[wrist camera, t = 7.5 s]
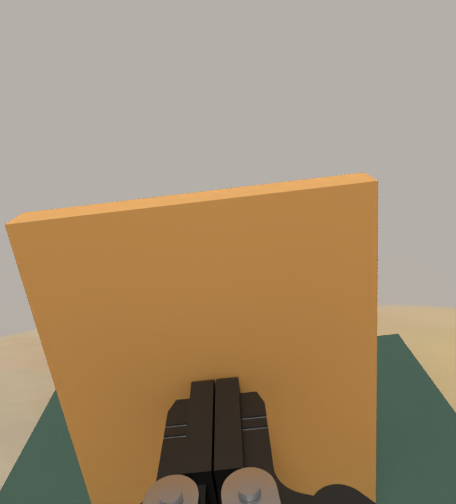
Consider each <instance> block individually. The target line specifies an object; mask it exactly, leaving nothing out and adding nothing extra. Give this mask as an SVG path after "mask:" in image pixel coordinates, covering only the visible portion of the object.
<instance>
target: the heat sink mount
mask: <svg viewBox="0 0 456 504" xmlns="http://www.w3.org/2000/svg"><path fill="white" fill-rule="evenodd" d="M0 504H91V500H90V497H89V494H88V491H87V488H86V484H85V481H84V478H83V475H82V472H81V468H80V465H79V462H78V459H77V455H76V452H75V449H74V446H73V443H72V439H71V436H70V433H69V430H68V427H67V423H66V420H65V417H64V414H63V411H62V407H61V404H60V401H59V398H58V394H57V391H56V390H55V392H54V394H53V395H52V397H51V399H50V401H49V403H48V405H47V406H46V408H45V410H44V412H43V414H42V416H41V417H40V419H39V421H38V423H37V425H36V427H35V428H34V430H33V432H32V434H31V436H30V438H29V439H28V441H27V443H26V445H25V447H24V449H23V450H22V452H21V454H20V456H19V458H18V460H17V461H16V463H15V465H14V467H13V469H12V471H11V472H10V474H9V476H8V478H7V480H6V482H5V483H4V485H3V487H2V489H1V491H0ZM376 504H456V413H455V411H454V410H453V409H452V407H451V406H450V405H449V403H448V402H447V400H446V399H445V398H444V396H443V395H442V394H441V392H440V391H439V389H438V388H437V387H436V385H435V384H434V383H433V381H432V380H431V378H430V377H429V376H428V374H427V373H426V372H425V370H424V369H423V367H422V366H421V365H420V363H419V362H418V361H417V359H416V358H415V356H414V355H413V354H412V352H411V351H410V350H409V348H408V347H407V345H406V344H405V343H404V341H403V340H402V339H401V337H400V336H399V334H393V335H383V336H377V410H376Z"/></svg>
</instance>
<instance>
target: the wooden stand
mask: <svg viewBox="0 0 456 504" xmlns="http://www.w3.org/2000/svg"><path fill="white" fill-rule="evenodd" d="M5 227H6V231H7V234H8V237H9V240H10V243H11V247H12V250H13V253H14V256H15V260H16V263H17V266H18V269H19V272H20V276H21V279H22V282H23V285H24V288H25V291H26V295H27V298H28V301H29V305H30V308H31V311H32V314H33V317H34V321H35V323H36V327H37V330H38V333H39V337H40V340H41V343H42V346H43V350H44V353H45V356H46V359H47V362H48V366H49V369H50V372H51V375H52V378H53V382H54V385H55V388H56V391H57V394H58V398H59V401H60V404H61V407H62V411H63V414H64V417H65V420H66V423H67V427H68V430H69V433H70V436H71V439H72V443H73V446H74V449H75V452H76V455H77V459H78V462H79V465H80V468H81V472H82V475H83V478H84V481H85V484H86V488H87V491H88V494H89V497H90V500H91V504H140V503H141V502H143V499H144V497H145V494H146V492H147V491H148V489H149V488H150V487H151V486H152V485H153V484H154V483H155V482H156V479H157V473H158V467H159V461H160V455H161V449H162V443H163V439H164V431H165V428H166V426H165V425H166V419H167V413H168V411H169V409H170V408H171V407H172V405H173V404H174V402H175V401H176V400H180V399H189V398H190V389H191V382H192V381H202V380H211V379H214V380H215V384H216V379H220V378H230V377H238V378H239V385H240V393H246V392H257V393H258V394H259V395H260V397H261V398H262V399H263V401H264V402H265V409H266V416H267V423H268V430H269V437H270V444H271V452H272V459H273V466H274V471H275V474H276V476H277V478H278V479H279V480H280V482H281V483H282V484H284V485H285V486H286V487H288V488H289V489H291V490H293V491H296V492H299V493H303V494H308V495H313V496H314V494H315V493H316V492H317V491H318V490H320V489H321V488H323V487H325V486H327V485H332V484H342V485H347V486H350V487H353V488H355V489H356V490H358V491H360V492H361V493H362V494H364V495H365V496H366V497H368V498H369V499H370V500H372V501H373V502H375V503H376V410H377V268H378V267H377V264H378V263H377V262H378V181H377V180H376V179H374V178H372V177H370V176H369V175H367V174H366V173H356V174H348V175H339V176H331V177H322V178H315V179H314V178H313V179H305V180H296V181H288V182H279V183H272V184H263V185H254V186H246V187H237V188H229V189H220V190H212V191H203V192H195V193H186V194H178V195H169V196H161V197H152V198H144V199H135V200H127V201H118V202H111V203H101V204H93V205H85V206H77V207H68V208H59V209H51V210H42V211H34V212H25V213H22V214H21V215H19V216H18V217H16V218H14V219H13V220H11V221H10V222H8V223H6V224H5Z"/></svg>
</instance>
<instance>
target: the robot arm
mask: <svg viewBox="0 0 456 504" xmlns="http://www.w3.org/2000/svg"><path fill="white" fill-rule="evenodd" d="M165 426H166V428H165V431H164V439H163V443H162V449H161V455H160V461H159V467H158V473H157V479H156V482H155V483H154V484H153V485H152V486H151V487H150V488H149V489H148V491H147V492H146V494H145V497H144V499H143V502H141V503H140V504H376V503H375V502H373V501H372V500H370V499H369V498H368V497H366V496H365V495H364V494H362V493H361V492H360V491H358V490H356V489H355V488H353V487H350V486H347V485H342V484H332V485H327V486H325V487H323V488H321V489H320V490H318V491H317V492H316V493H315V494H314V496H313V495H308V494H303V493H299V492H296V491H293V490H291V489H289V488H288V487H286V486H285V485H284V484H282V483H281V482H280V480H279V479H278V478H277V476H276V474H275V471H274V466H273V459H272V452H271V444H270V437H269V430H268V423H267V416H266V409H265V402H264V401H263V399H262V398H261V397H260V395H259V394H258V393H257V392H246V393H240V385H239V378H238V377H230V378H220V379H216V384H215V380H214V379H211V380H202V381H192V382H191V389H190V398H189V399H180V400H176V401H175V402H174V404H173V405H172V407H171V408H170V409H169V411H168V413H167V419H166V425H165Z"/></svg>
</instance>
